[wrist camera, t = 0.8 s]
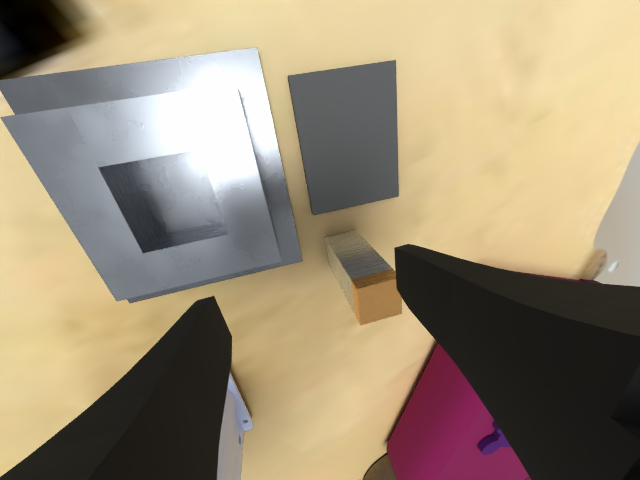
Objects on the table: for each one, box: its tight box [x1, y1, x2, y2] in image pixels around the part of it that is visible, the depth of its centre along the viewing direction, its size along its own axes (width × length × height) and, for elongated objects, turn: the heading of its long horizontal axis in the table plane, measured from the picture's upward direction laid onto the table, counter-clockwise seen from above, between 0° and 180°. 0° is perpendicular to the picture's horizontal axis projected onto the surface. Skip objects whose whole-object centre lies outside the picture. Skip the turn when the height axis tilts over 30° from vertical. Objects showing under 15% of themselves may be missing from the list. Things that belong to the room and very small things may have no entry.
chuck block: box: [0, 48, 303, 303], centre depth 15 cm, size 14×13×4 cm
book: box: [386, 272, 602, 480], centre depth 29 cm, size 21×28×8 cm
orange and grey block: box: [325, 230, 402, 325], centre depth 18 cm, size 3×3×8 cm
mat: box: [288, 60, 399, 215], centre depth 18 cm, size 9×7×1 cm
